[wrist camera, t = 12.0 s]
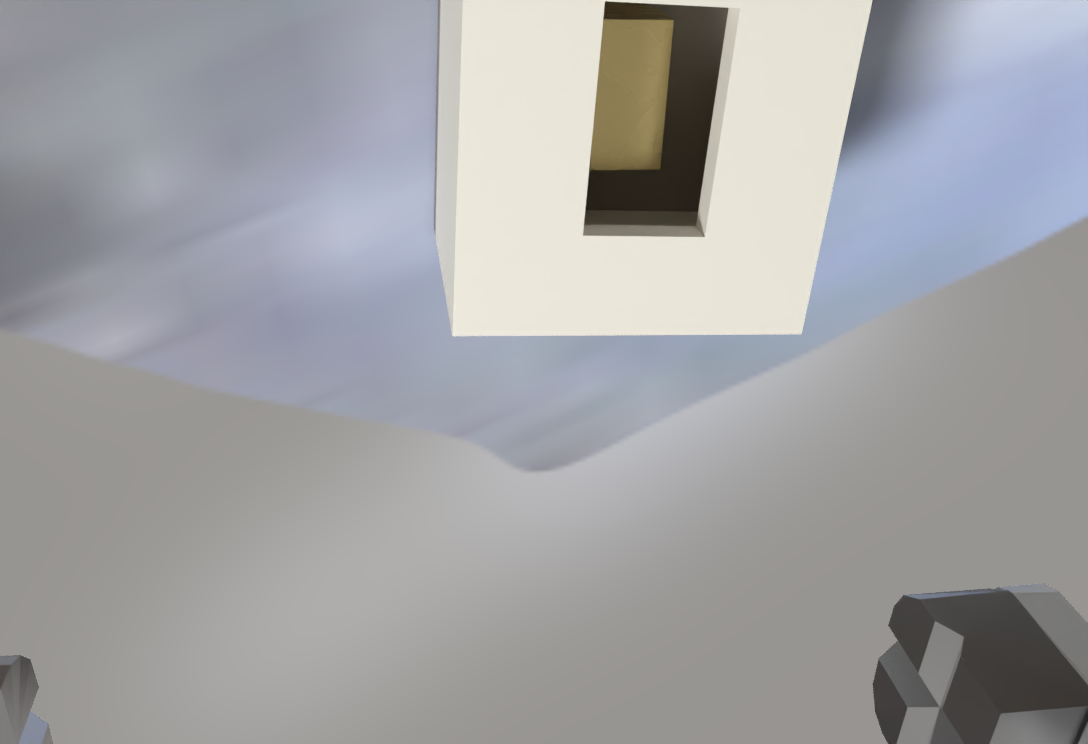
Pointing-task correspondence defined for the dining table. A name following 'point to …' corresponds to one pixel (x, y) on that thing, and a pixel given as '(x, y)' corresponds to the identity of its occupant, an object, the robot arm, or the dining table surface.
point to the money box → (638, 195)
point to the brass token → (631, 87)
